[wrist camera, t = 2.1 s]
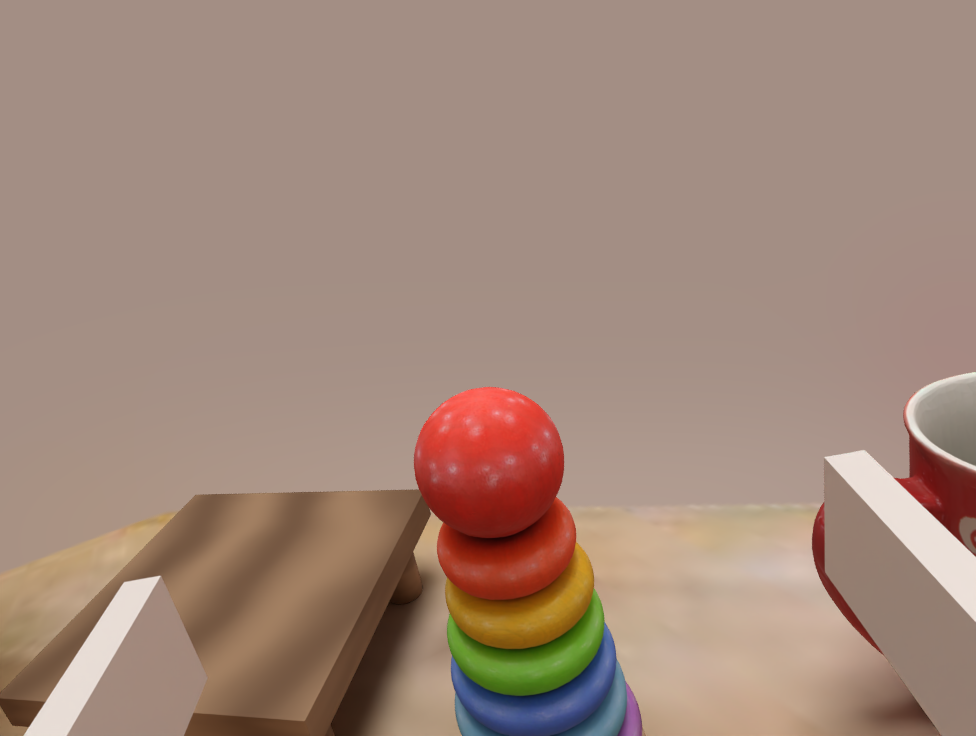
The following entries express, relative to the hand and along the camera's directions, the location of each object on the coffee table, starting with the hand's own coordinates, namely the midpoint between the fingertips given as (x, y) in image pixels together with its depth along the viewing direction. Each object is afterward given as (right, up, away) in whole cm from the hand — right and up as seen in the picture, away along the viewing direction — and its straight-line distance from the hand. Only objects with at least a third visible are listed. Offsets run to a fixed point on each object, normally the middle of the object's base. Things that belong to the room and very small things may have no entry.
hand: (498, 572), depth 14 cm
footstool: (-12, -13, +26) cm, 31 cm away
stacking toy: (+3, -14, +17) cm, 22 cm away
